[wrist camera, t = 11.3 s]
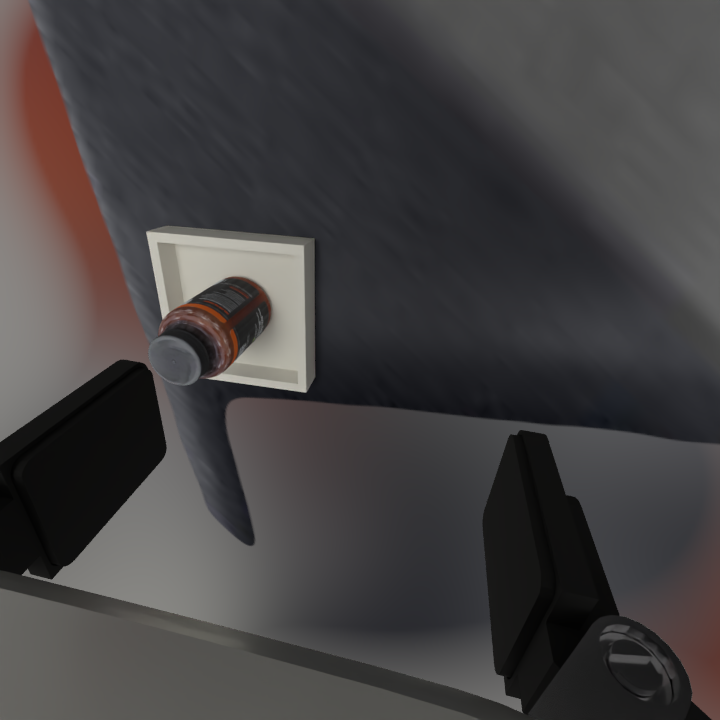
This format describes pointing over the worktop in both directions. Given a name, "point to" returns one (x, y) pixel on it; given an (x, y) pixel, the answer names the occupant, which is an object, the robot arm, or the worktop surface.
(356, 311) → the worktop surface
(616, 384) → the worktop surface
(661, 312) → the worktop surface
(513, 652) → the robot arm
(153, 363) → the supplement bottle
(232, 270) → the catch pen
